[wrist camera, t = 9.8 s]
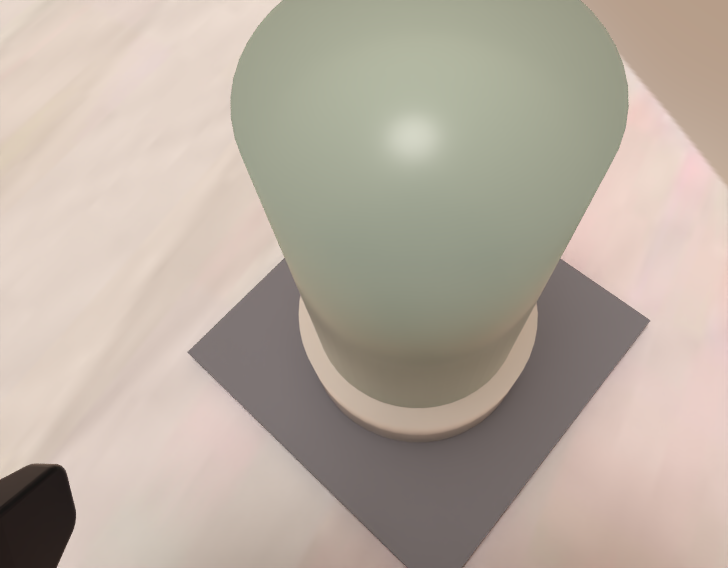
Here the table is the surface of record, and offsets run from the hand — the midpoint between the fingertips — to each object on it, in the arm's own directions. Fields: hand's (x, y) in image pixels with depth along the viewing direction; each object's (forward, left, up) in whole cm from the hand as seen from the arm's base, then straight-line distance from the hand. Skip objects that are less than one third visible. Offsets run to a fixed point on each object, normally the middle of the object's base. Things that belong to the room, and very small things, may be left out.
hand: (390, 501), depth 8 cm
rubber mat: (+4, -5, -13) cm, 14 cm away
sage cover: (+4, -5, -9) cm, 11 cm away
